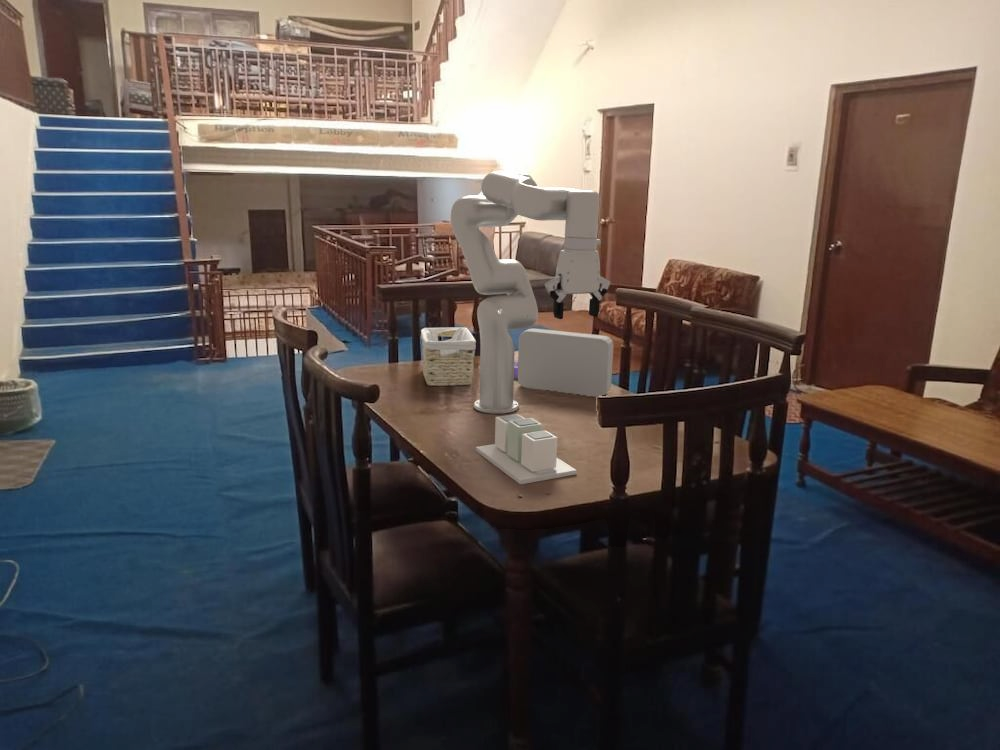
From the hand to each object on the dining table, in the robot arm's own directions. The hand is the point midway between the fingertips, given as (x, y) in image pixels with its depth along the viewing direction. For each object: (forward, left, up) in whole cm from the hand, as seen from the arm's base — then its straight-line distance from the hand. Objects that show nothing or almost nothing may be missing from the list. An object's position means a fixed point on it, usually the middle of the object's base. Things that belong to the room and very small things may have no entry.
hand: (576, 317), depth 175 cm
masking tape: (-61, +20, -31) cm, 72 cm away
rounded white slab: (-39, +22, -31) cm, 55 cm away
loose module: (+9, -18, -30) cm, 36 cm away
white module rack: (+9, -18, -31) cm, 37 cm away
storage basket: (-67, -5, -31) cm, 74 cm away
